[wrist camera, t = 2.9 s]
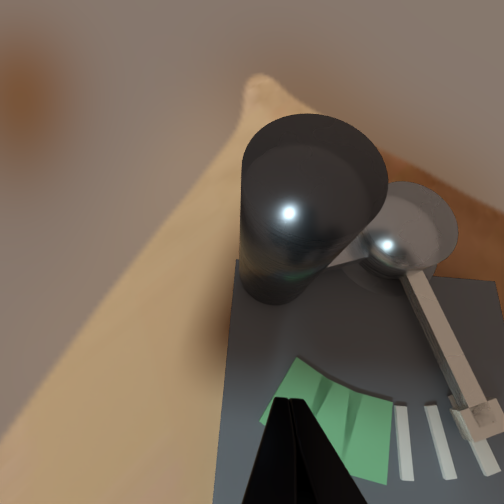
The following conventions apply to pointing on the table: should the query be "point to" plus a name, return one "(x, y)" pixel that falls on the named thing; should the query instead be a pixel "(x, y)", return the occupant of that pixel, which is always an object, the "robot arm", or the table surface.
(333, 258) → the dial
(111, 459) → the table surface
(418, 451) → the gauge board
